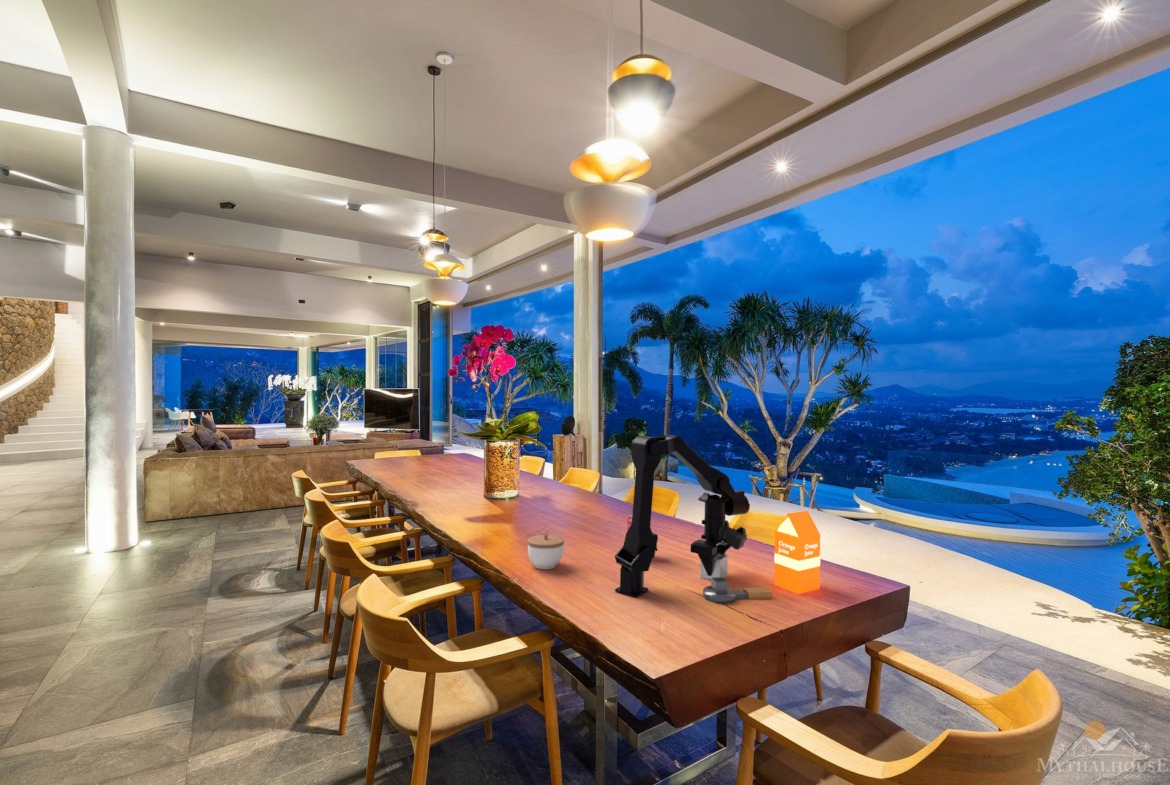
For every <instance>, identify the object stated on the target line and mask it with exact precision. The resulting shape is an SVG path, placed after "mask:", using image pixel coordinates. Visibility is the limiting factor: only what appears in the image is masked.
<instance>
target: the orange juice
mask: <svg viewBox="0 0 1170 785" xmlns="http://www.w3.org/2000/svg"><path fill="white" fill-rule="evenodd" d="M820 567H821V533H820V531H819V529H818V528H817V526H816V523H815V521H814V520H813V518H812V516H811V514H810V512H809V510H802V511H795V512H788V513H786V514H785V516H784V517H783V519H782V520H781V522H780V523H779V524H778V526H777V527H776V529H775V531H774V576H773V577H774V585H775V586H776V587H780V588H781V589H783V590H786V591H789V592H791V593H794V594H797V595H800V594H805V593H808V592H813V591H816V590H819V589H820V586H821V585H820V584H821V583H820V582H821V581H820V580H821V576H820V575H821V574H820V573H821V568H820Z"/></svg>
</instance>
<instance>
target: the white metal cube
mask: <svg viewBox="0 0 1170 785" xmlns="http://www.w3.org/2000/svg"><path fill="white" fill-rule="evenodd" d="M728 557H729V556H728V554H725V555H724V554H718V555H717V556H716V557H715V558H714V565H713V572H712V576H708V575H707V573H706V570H705V568H704V566H703V564H702V562H701V561H700V577H702V578H701V579H704V578H706V579H705V580H708V579H710V580H709V581H712V578H718V577H723V578H724V579H725V580H726V578H728V569H729V568H728V566H729V565H728V564H729V560H728V559H729V558H728Z"/></svg>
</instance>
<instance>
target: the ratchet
mask: <svg viewBox="0 0 1170 785" xmlns="http://www.w3.org/2000/svg"><path fill="white" fill-rule="evenodd" d="M728 584H729V582H728V580H727V579H726V578H725V579H724V578H723V577H718V578H712V580H711V585H708V586H705V587H704V588H703V589H702V597H703V598H705V599H704V600H706V601H707V600H708V601H707V602H710V601H711V602H710V603H713V602H715V603H714V604H718V603H719V604H720V603H721V604H720V605H729V604H728V603H731V604H734V603H735V602H736V601H737V600H761V599H772V591H770V589H768V588H767V587H743V589H739V590H737V589H732V588H730V587H729V586H728ZM733 602H734V603H733ZM719 604H718V605H719Z"/></svg>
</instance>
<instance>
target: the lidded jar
mask: <svg viewBox="0 0 1170 785" xmlns="http://www.w3.org/2000/svg"><path fill="white" fill-rule="evenodd" d="M564 544H565V540H564V538H563V537H561V536H558V535H555V534H548V533H544V534H537V535H533V536H531V537H529V538H527V554H528V558H529V561H530V562H531V563H532V564H533V565H534V568H536V569H539V570H552V569H555V568H556V566H557V565H558V564H559V563H560V562H561V559H562V557H563V554H564Z"/></svg>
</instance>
